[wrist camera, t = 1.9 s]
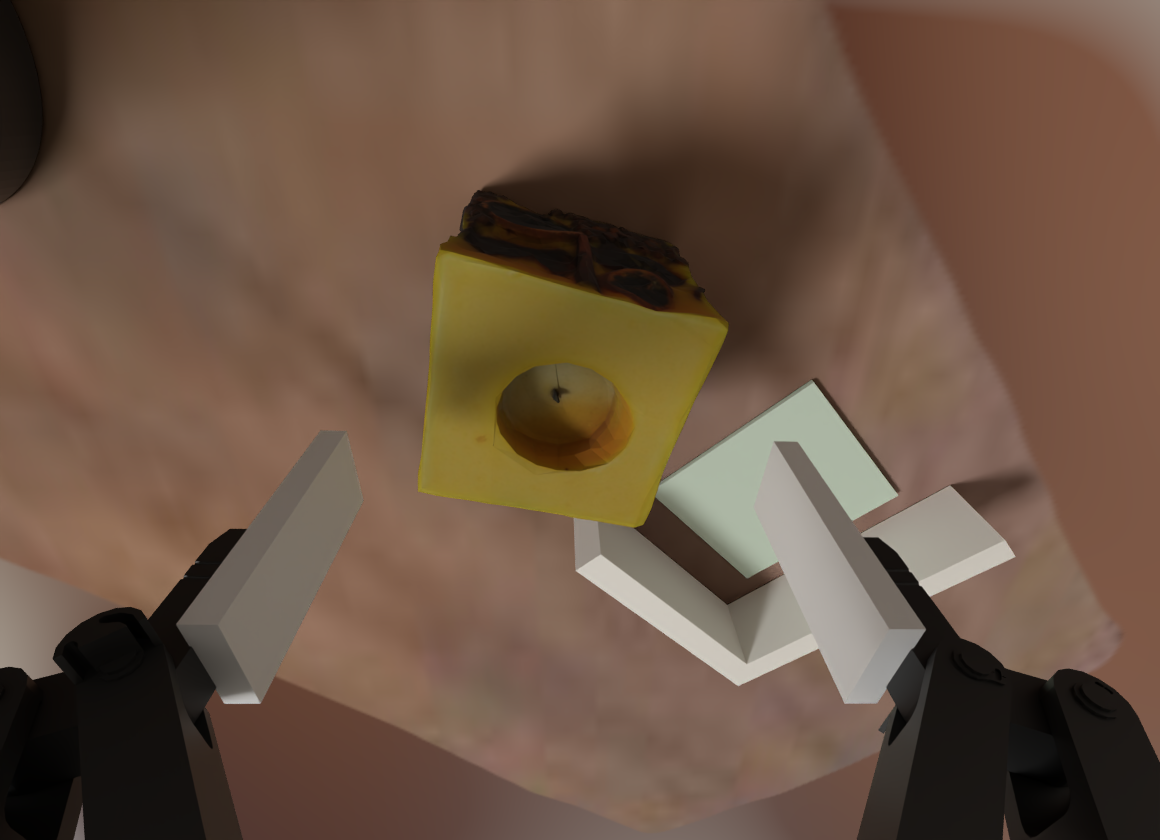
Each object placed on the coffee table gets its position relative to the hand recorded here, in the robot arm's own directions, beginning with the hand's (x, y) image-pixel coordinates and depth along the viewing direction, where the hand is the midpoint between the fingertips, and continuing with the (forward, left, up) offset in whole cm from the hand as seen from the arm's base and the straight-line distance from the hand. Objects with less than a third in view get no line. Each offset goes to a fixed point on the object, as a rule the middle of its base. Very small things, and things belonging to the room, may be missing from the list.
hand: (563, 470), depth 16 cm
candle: (0, 0, -13) cm, 13 cm away
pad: (+19, +2, -13) cm, 23 cm away
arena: (+19, +1, -13) cm, 23 cm away
